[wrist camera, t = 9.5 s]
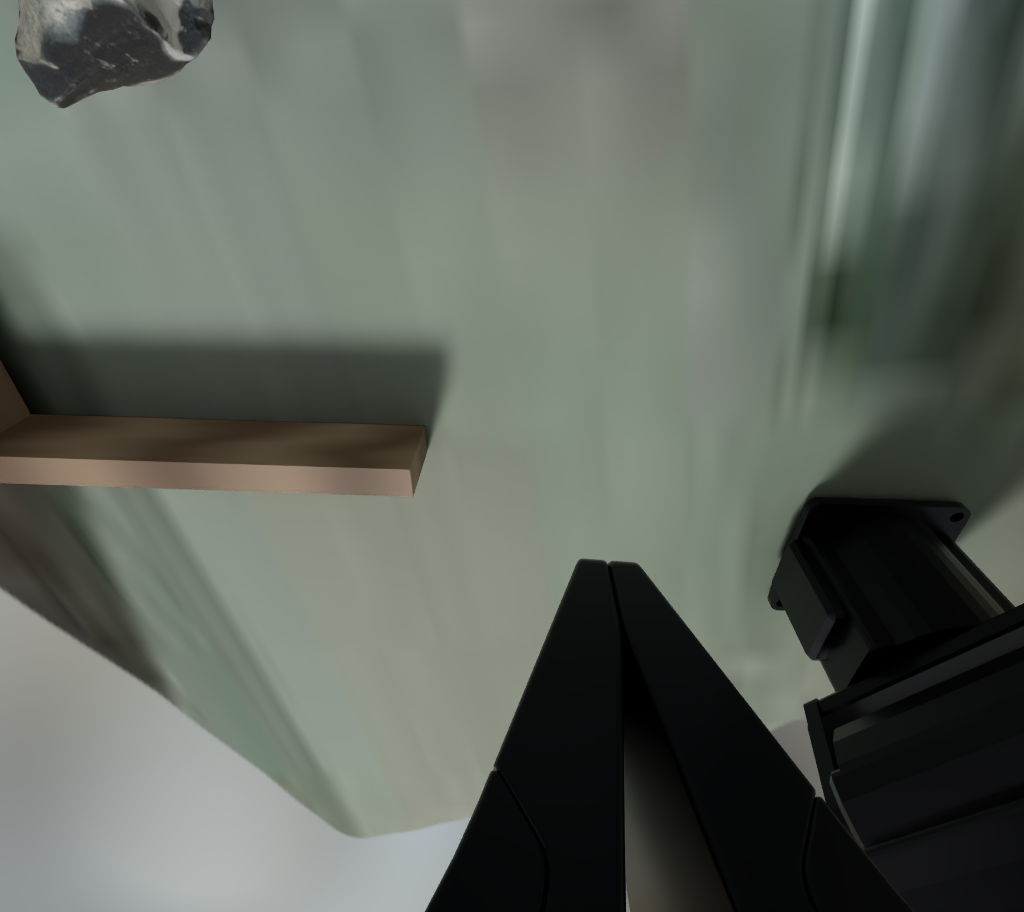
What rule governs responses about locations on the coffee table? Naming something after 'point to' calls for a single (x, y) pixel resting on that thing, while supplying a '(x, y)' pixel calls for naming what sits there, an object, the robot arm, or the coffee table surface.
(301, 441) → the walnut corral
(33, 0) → the decorative stone
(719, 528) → the coffee table surface
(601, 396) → the coffee table surface
